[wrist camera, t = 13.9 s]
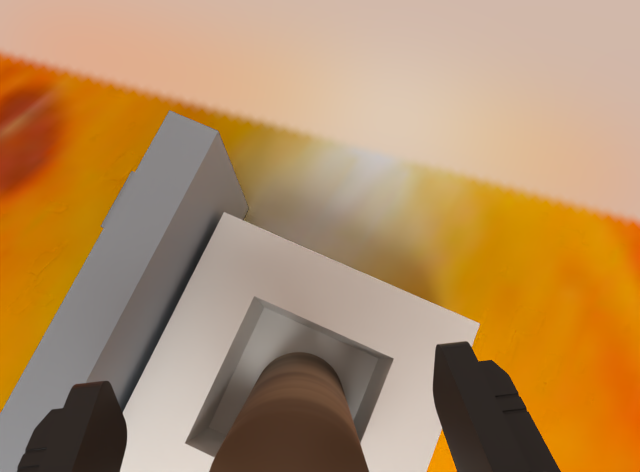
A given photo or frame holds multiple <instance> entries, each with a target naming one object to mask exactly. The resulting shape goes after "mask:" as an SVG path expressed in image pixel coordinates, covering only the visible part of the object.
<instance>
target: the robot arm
mask: <svg viewBox="0 0 640 472" xmlns="http://www.w3.org/2000/svg"><path fill="white" fill-rule="evenodd" d="M433 398H434V404H435V408H436V412H437V415H438V417H439V420H440V423H441V426H442V429H443V432H444V435H445V437H446V440H447V443H448V446H449V449H450V452H451V455H452V457H453V460H454V463H455V466H456V469H457V472H561V471H560V469H559V468H558V466H557V464H556V462H555V460H554V459H553V457H552V455H551V453H550V451H549V449H548V447H547V446H546V444H545V442H544V440H543V438H542V436H541V434H540V432H539V431H538V429H537V427H536V425H535V423H534V421H533V419H532V418H531V416H530V414H529V412H527V410H526V406H525V404H524V403H523V401H522V399H521V397H519V395H518V391H517V390H516V388H515V386H514V384H513V382H512V380H511V378H510V376H509V375H508V374H507V373H506V372H505V371H504V370H503V369H501V368H500V367H499V366H498V365H497V364H496V363H495V362H494V361H492V360H488V361H479V362H478V360H477V358H476V356H475V354H474V352H473V350H472V348H471V346H470V344H469V343H468V342H467V341H463V342H454V343H445V344H437V345H436V349H435V361H434V374H433ZM126 445H127V425H126V421H125V418H124V416H123V413H122V411H121V408H120V406H119V403H118V400H117V398H116V395H115V393H114V390H113V388H112V385H111V383H110V382H109V381H98V382H89V383H81V384H75V385H74V386H73V387H72V388H71V390H70V392H69V394H68V397H67V399H66V402H65V404H64V407H63V408H59V409H52V410H51V411H50V412H49V413H48V414H47V415H46V416H45V417H44V419H43V420H42V421H41V422H40V423H39V424H38V425H37V426H36V428H35V429H34V431H33V433H32V435H31V438H30V440H29V442H28V444H27V447H26V449H25V454H23V456H22V458H21V460H20V462H19V464H18V467H17V468H18V470H17V472H120V469H121V465H122V461H123V458H124V454H125V450H126Z"/></svg>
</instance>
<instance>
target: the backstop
mask: <svg viewBox="0 0 640 472" xmlns="http://www.w3.org/2000/svg"><path fill="white" fill-rule="evenodd" d="M248 209H249V207H248V205H247V202H246V200H245V197H244V194H243V192H242V189H241V187H240V184H239V182H238V179H237V177H236V174H235V172H234V169H233V167H232V164H231V162H230V159H229V157H228V154H227V152H226V149H225V147H224V144H223V141H222V139H221V136H220V134H219V131H217V130H215V129H212V128H210V127H208V126H205V125H203V124H201V123H198V122H196V121H194V120H191V119H189V118H186V117H184V116H182V115H179V114H177V113H175V112H172V111H170V110H169V112H168V114H167V116H166V118H165V119H164V121H163V123H162V125H161V127H160V128H159V130H158V132H157V134H156V136H155V137H154V139H153V141H152V143H151V145H150V146H149V148H148V150H147V152H146V153H145V155H144V157H143V159H142V161H141V162H140V164H139V166H138V168H137V170H136V171H135V172H133V171H131V173H130V175H129V177H128V178H127V180H126V182H125V184H124V186H123V187H122V189H121V191H120V193H119V195H118V196H117V198H116V200H115V202H114V203H113V205H112V207H111V209H110V211H109V212H108V214H107V216H106V218H105V219H104V221H103V223H102V225H101V227H102V228H104V229H103V230H102V232H101V234H100V236H99V238H98V239H97V241H96V243H95V245H94V247H93V248H92V250H91V252H90V254H89V256H88V257H87V259H86V261H85V263H84V265H83V266H82V268H81V270H80V272H79V273H78V275H77V277H76V279H75V281H74V282H73V284H72V286H71V288H70V290H69V291H68V293H67V295H66V297H65V299H64V300H63V302H62V304H61V306H60V308H59V309H58V311H57V313H56V315H55V316H54V318H53V320H52V322H51V324H50V325H49V327H48V329H47V331H46V333H45V334H44V336H43V338H42V340H41V342H40V343H39V345H38V347H37V349H36V351H35V352H34V354H33V356H32V358H31V359H30V361H29V363H28V365H27V367H26V368H25V370H24V372H23V374H22V376H21V377H20V379H19V381H18V383H17V385H16V386H15V388H14V390H13V392H12V394H11V395H10V397H9V399H8V401H7V402H6V404H5V406H4V408H3V410H2V411H1V413H0V472H17V470H18V468H17V467H18V464H19V462H20V460H21V458H22V456H23V454H25V449H26V447H27V444H28V442H29V440H30V438H31V435H32V433H33V431H34V429H35V428H36V426H37V425H38V424H39V423H40V422H41V421H42V420H43V419H44V417H45V416H46V415H47V414H48V413H49V412H50V411H51V410H52V409H59V408H63V407H64V404H65V402H66V399H67V397H68V394H69V392H70V390H71V388H72V387H73V386H74V385H75V384H81V383H89V382H98V381H109V382H110V383H111V385H112V388H113V390H114V393H115V395H116V398H117V400H118V403H119V406H120V408H121V411H122V413H123V411H124V409H125V407H126V405H127V403H128V401H129V399H130V397H131V395H132V393H133V391H134V389H135V387H136V385H137V383H138V381H139V379H140V377H141V375H142V373H143V371H144V369H145V367H146V365H147V363H148V362H149V360H150V358H151V356H152V354H153V352H154V350H155V348H156V346H157V344H158V342H159V340H160V338H161V336H162V334H163V332H164V330H165V328H166V326H167V324H168V322H169V320H170V318H171V316H172V314H173V312H174V310H175V308H176V306H177V304H178V302H179V300H180V298H181V296H182V294H183V292H184V290H185V288H186V286H187V284H188V282H189V280H190V278H191V276H192V274H193V272H194V270H195V268H196V266H197V264H198V262H199V260H200V259H201V257H202V255H203V253H204V251H205V249H206V247H207V245H208V243H209V241H210V239H211V237H212V235H213V233H214V231H215V229H216V227H217V225H218V223H219V221H220V219H221V217H222V215H223V213H224V212H225V213H228V214H230V215H232V216H235V217H237V218H239V219H241V220H243V219H244V217H245V215H246V213H247V211H248Z"/></svg>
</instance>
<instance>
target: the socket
mask: <svg viewBox="0 0 640 472" xmlns="http://www.w3.org/2000/svg"><path fill="white" fill-rule="evenodd" d="M479 325H480V323H477V322H475V321H473V320H471V319H468V318H466V317H464V316H461V315H459V314H457V313H455V312H452V311H450V310H448V309H445V308H443V307H441V306H438V305H436V304H434V303H432V302H429V301H427V300H425V299H422V298H420V297H418V296H416V295H413V294H411V293H409V292H406V291H404V290H402V289H400V288H397V287H395V286H393V285H390V284H388V283H386V282H383V281H381V280H379V279H377V278H374V277H372V276H370V275H367V274H365V273H363V272H361V271H358V270H356V269H354V268H351V267H349V266H347V265H345V264H342V263H340V262H338V261H335V260H333V259H331V258H328V257H326V256H324V255H322V254H319V253H317V252H315V251H312V250H310V249H308V248H306V247H303V246H301V245H299V244H296V243H294V242H292V241H290V240H287V239H285V238H283V237H280V236H278V235H276V234H273V233H271V232H269V231H267V230H264V229H262V228H260V227H257V226H255V225H253V224H251V223H248V222H246V221H244V220H241V219H239V218H237V217H235V216H232V215H230V214H228V213H225V212H224V213H223V215H222V217H221V219H220V221H219V223H218V225H217V227H216V229H215V231H214V233H213V235H212V237H211V239H210V241H209V243H208V245H207V247H206V249H205V251H204V253H203V255H202V257H201V259H200V260H199V262H198V264H197V266H196V268H195V270H194V272H193V274H192V276H191V278H190V280H189V282H188V284H187V286H186V288H185V290H184V292H183V294H182V296H181V298H180V300H179V302H178V304H177V306H176V308H175V310H174V312H173V314H172V316H171V318H170V320H169V322H168V324H167V326H166V328H165V330H164V332H163V334H162V336H161V338H160V340H159V342H158V344H157V346H156V348H155V350H154V352H153V354H152V356H151V358H150V360H149V362H148V363H147V365H146V367H145V369H144V371H143V373H142V375H141V377H140V379H139V381H138V383H137V385H136V387H135V389H134V391H133V393H132V395H131V397H130V399H129V401H128V403H127V405H126V407H125V409H124V411H123V416H124V418H125V421H126V425H127V445H126V450H125V454H124V458H123V461H122V465H121V469H120V472H209V471H210V468H211V465H212V462H213V460H214V458H215V456H216V454H217V452H218V451H219V449H220V447H221V445H222V443H223V441H224V440H225V438H226V436H227V434H228V432H229V431H230V429H231V427H232V425H233V423H234V422H235V420H236V418H237V416H238V414H239V412H240V411H241V409H242V407H243V405H244V403H245V402H246V400H247V398H248V396H249V394H250V393H251V391H252V389H253V387H254V385H255V383H256V382H257V380H258V378H259V376H260V375H261V373H262V371H263V370H264V369H265V368H266V366H267V365H268V364H270V363H271V362H272V361H273V360H275V359H276V358H278V357H280V356H282V355H285V354H288V353H293V352H305V353H310V354H313V355H316V356H318V357H320V358H322V359H323V360H325V361H326V362H327V363H328V364H330V365H331V367H332V368H333V369H334V370H335V372H336V373H337V375H338V377H339V379H340V381H341V384H342V387H343V391H344V394H345V397H346V400H347V403H348V406H349V410H350V413H351V416H352V419H353V422H354V425H355V429H356V432H357V435H358V438H359V441H360V444H361V447H362V451H363V454H364V457H365V460H366V463H367V466H368V470H369V472H426V471H427V469H428V466H429V463H430V460H431V458H432V455H433V452H434V449H435V447H436V444H437V441H438V438H439V436H440V433H441V430H442V426H441V423H440V420H439V417H438V415H437V412H436V408H435V404H434V398H433V374H434V361H435V349H436V345H437V344H445V343H454V342H463V341H467V342H468V343H469V344H470V346H471V347H472V345H473V342H474V339H475V336H476V334H477V331H478V328H479Z"/></svg>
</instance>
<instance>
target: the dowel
mask: <svg viewBox="0 0 640 472" xmlns="http://www.w3.org/2000/svg"><path fill="white" fill-rule="evenodd" d="M209 472H369V470H368V466H367V463H366V460H365V457H364V454H363V451H362V447H361V444H360V441H359V438H358V435H357V432H356V429H355V425H354V422H353V419H352V416H351V413H350V410H349V406H348V403H347V400H346V397H345V394H344V391H343V387H342V384H341V381H340V379H339V377H338V375H337V373H336V372H335V370H334V369H333V368H332V367H331V365H330V364H328V363H327V362H326V361H325V360H323V359H322V358H320V357H318V356H316V355H313V354H310V353H305V352H293V353H288V354H285V355H282V356H280V357H278V358H276V359H275V360H273V361H272V362H271V363H270V364H268V365H267V366H266V368H265V369H264V370H263V371H262V373H261V375H260V376H259V378H258V380H257V382H256V383H255V385H254V387H253V389H252V391H251V393H250V394H249V396H248V398H247V400H246V402H245V403H244V405H243V407H242V409H241V411H240V412H239V414H238V416H237V418H236V420H235V422H234V423H233V425H232V427H231V429H230V431H229V432H228V434H227V436H226V438H225V440H224V441H223V443H222V445H221V447H220V449H219V451H218V452H217V454H216V456H215V458H214V460H213V462H212V465H211V468H210V471H209Z"/></svg>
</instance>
